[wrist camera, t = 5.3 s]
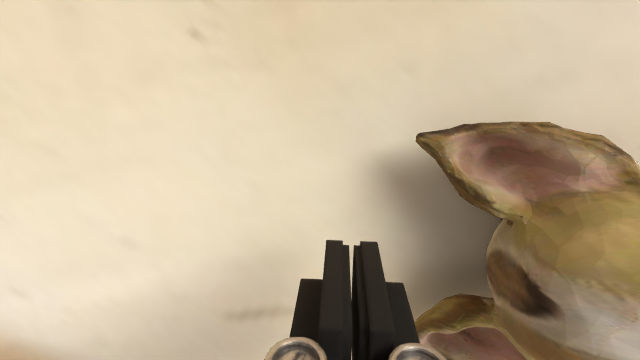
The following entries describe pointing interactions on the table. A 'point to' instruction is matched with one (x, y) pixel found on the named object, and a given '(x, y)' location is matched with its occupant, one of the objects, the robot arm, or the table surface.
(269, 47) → the table surface
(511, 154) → the ceramic sculpture
